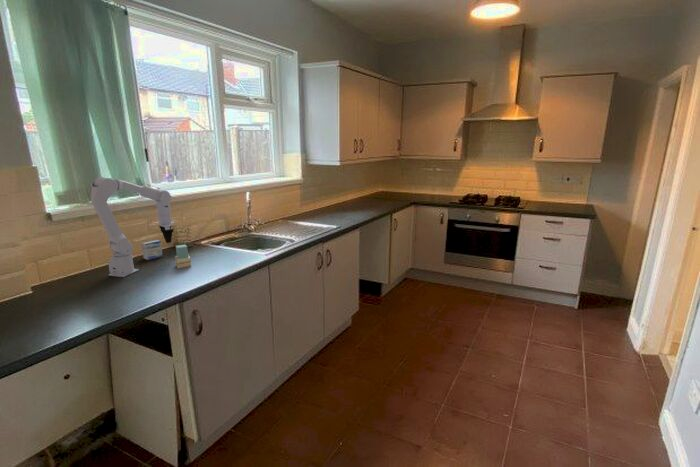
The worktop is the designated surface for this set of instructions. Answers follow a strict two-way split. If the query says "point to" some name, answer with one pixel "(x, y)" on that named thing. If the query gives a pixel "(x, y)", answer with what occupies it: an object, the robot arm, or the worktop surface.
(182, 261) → the upper slab
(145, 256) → the medicine box
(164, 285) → the worktop surface
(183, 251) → the teal block
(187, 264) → the lower slab
